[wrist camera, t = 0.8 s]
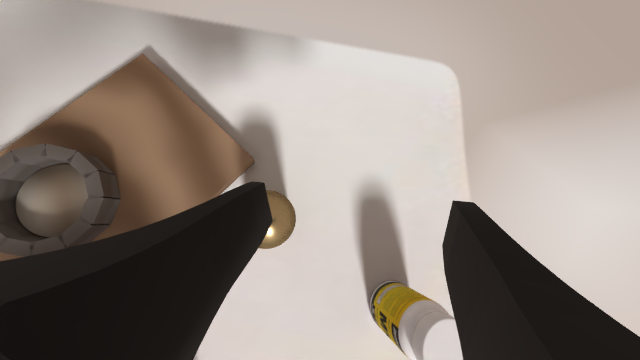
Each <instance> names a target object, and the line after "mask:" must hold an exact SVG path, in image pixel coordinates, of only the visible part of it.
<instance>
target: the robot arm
mask: <svg viewBox="0 0 640 360" xmlns="http://www.w3.org/2000/svg"><path fill="white" fill-rule="evenodd" d="M272 221H273V219H272V214H271V210H270V206H269V201H268V197H267V193H266V188H265V184H264V183H261V182H250V183H247V184H244V185H241V186H239V187H237V188H234V189H232V190H230V191H228V192H226V193H223V194H221V195H219V196H217V197H215V198H213V199H210V200H208V201H206V202H204V203H202V204H199V205H197V206H195V207H192V208H190V209H188V210H185V211H183V212H181V213H178V214H176V215H174V216H171V217H168V218H166V219H163V220H161V221H158V222H155V223H152V224H149V225H147V226H144V227H141V228H138V229H135V230H131V231H128V232H124V233H121V234H118V235H114V236H111V237H108V238H104V239H101V240H97V241H93V242H89V243H85V244H81V245H77V246H73V247H69V248H64V249H60V250H56V251H51V252H46V253H41V254H36V255H31V256H26V257H20V258H15V259H10V260H5V261H0V360H193V358H194V356H195V354H196V352H197V350H198V348H199V346H200V344H201V342H202V340H203V338H204V336H205V334H206V332H207V330H208V328H209V326H210V324H211V322H212V320H213V319H214V317H215V315H216V313H217V311H218V310H219V308H220V306H221V304H222V302H223V300H224V299H225V297H226V295H227V294H228V292H229V290H230V289H231V287H232V286H233V284H234V283H235V281H236V280H237V278H238V277H239V275H240V274H241V272H242V271H243V270H244V268H245V267H246V265H247V264H248V262H249V261H250V259H251V258H252V256H253V255H254V253H255V252H256V251H257V249H258V248H259V246H260V245H261V243H262V241H263V240H264V238H265V236H266V234H267V232H268V230H269V228H270V226H271V224H272ZM442 246H443V259H444V270H445V276H446V281H447V286H448V290H449V295H450V299H451V304H452V308H453V313H454V317H455V322H456V326H457V331H458V335H459V340H460V345H461V350H462V356H463V360H640V337H639V336H637V335H636V334H635V333H633V332H632V331H630V330H629V329H627V328H626V327H624V326H623V325H622V324H620V323H619V322H617V321H616V320H614V319H613V318H612V317H610V316H609V315H608V314H606V313H605V312H603V311H602V310H601V309H599V308H598V307H597V306H595V305H594V304H593V303H591V302H590V301H588V300H587V299H586V298H584V297H583V296H582V295H580V294H579V293H577V292H576V291H575V290H574V289H572V288H571V287H570V286H568V285H567V284H566V283H564V282H563V281H562V280H561V279H560V278H558V277H557V276H556V275H555V274H553V273H552V272H551V271H550V270H548V269H547V268H546V267H545V266H544V265H542V264H541V263H540V262H539V261H537V260H536V259H535V258H534V257H533V256H532V255H531V254H529V253H528V252H527V251H526V250H525V249H523V248H522V247H521V246H520V245H519V244H518V243H517V242H516V241H515V240H513V239H512V238H511V237H510V236H509V235H508V234H507V233H506V232H505V231H504V230H503V229H501V228H500V227H499V226H498V225H497V224H496V223H495V222H494V221H493V220H492V219H491V218H490V217H489V216H488V215H487V214H486V213H485V212H483V210H481V209H480V208H479V207H478V206H477V205H476V204H475V203H473V202H462V201H453V203H452V207H451V211H450V215H449V220H448V224H447V228H446V232H445V237H444V241H443V245H442Z"/></svg>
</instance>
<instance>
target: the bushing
mask: <svg viewBox="0 0 640 360" xmlns="http://www.w3.org/2000/svg"><path fill="white" fill-rule="evenodd" d="M266 193H267V197H268V201H269V206H270V210H271V214H272V219H273V221H272V224H271V226H270V228H269V230H268V232H267V234H266V236H265V238H264V240H263V241H262V243H261V245H260V246H259V248H262V249H269V248H274V247H277V246H279V245H281V244H282V243H284V242H285V241H286V240H287V239H288V238H289V237H290V235H291V234H292V232H293V230H294V227H295V222H296V216H295V210H294V208H293V206H292V204H291V202H290V201H289V200H288V199H287V198H286V197H285V196H284V195H282V194H280V193H278V192H275V191H266Z"/></svg>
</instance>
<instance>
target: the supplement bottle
mask: <svg viewBox="0 0 640 360" xmlns="http://www.w3.org/2000/svg"><path fill="white" fill-rule="evenodd" d="M370 312H371V315H372V318H373V320H374V321H375V323H376V324H377V325H378V326H379V327H380V328H381V329H382V330H383V331H384V333H385V334H386V335H387V336H388V337H389V338H390V339H391V340H392V341H393V342H394V343H395V344H396V345H397V346H398V348H399V349H400V350H401V351H402V352H403V353H404V354H405V355H406V356H407V357H408V358H409V359H410V360H463V356H462V350H461V345H460V340H459V335H458V331H457V326H456V322H455V318H453V317H452V316H450V315H449V313H448V312H447V311H446V310H445V309H444V308H443V307H442V306H441V305H440V304H438V303H437V302H435V301H433V300H431V299H429V298H427V297H425V296H424V295H422V294H420V293H418V292H416V291H414V290H413V289H411V288H409V287H407V286H405V285H404V284H402V283H400V282H397V281H386V282H384V283H382V284H380V285H379V286H378V287H377V288H376V289H375V290H374V292H373V294H372V296H371V299H370Z"/></svg>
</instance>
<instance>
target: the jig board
mask: <svg viewBox="0 0 640 360" xmlns="http://www.w3.org/2000/svg"><path fill="white" fill-rule="evenodd" d="M253 163H254V159H253V158H252V157H251V156H250V155H249V154H248V153H247V152H246V151H245V150H244V149H243V148H242V147H241V146H240V145H239V144H237V143H236V142H235V141H234V140H233V139H232V138H231V137H230V136H229V135H228V134H227V133H226V132H225V131H224V130H223V129H222V128H221V127H220V126H219V125H217V124H216V123H215V122H214V121H213V120H212V119H211V118H210V117H209V116H208V115H207V114H206V113H205V112H204V111H203V110H202V109H201V108H200V107H198V106H197V105H196V104H195V103H194V102H193V101H192V100H191V99H190V98H189V97H188V96H187V95H186V94H185V93H184V92H183V91H182V90H181V89H180V88H178V87H177V86H176V85H175V84H174V83H173V82H172V81H171V80H170V79H169V78H168V77H167V76H166V75H165V74H164V73H163V72H162V71H161V70H159V69H158V68H157V67H156V66H155V65H154V64H153V63H152V62H151V61H150V60H149V59H148V58H147V57H146V56H145V55H144V54H142V55H140V56H139V57H137V58H136V59H135V60H133V61H132V62H130V63H129V64H127V65H126V66H124V67H123V68H122V69H120V70H119V71H117V72H116V73H114V74H113V75H111V76H110V77H109V78H107V79H106V80H104V81H103V82H101V83H100V84H98V85H97V86H96V87H94V88H93V89H91V90H90V91H88V92H87V93H85V94H84V95H83V96H81V97H80V98H78V99H77V100H75V101H74V102H72V103H71V104H69V105H68V106H67V107H65V108H64V109H62V110H61V111H59V112H58V113H56V114H55V115H54V116H52V117H51V118H49V119H48V120H46V121H45V122H43V123H42V124H41V125H39V126H38V127H36V128H35V129H33V130H32V131H30V132H29V133H28V134H26V135H25V136H23V137H22V138H20V139H19V140H17V141H16V142H15V143H13V144H12V145H10V146H9V147H7V148H6V149H4V150H3V151H2V152H0V261H5V260H10V259H15V258H20V257H26V256H31V255H36V254H41V253H46V252H51V251H56V250H60V249H64V248H69V247H73V246H77V245H81V244H85V243H89V242H93V241H97V240H101V239H104V238H108V237H111V236H114V235H118V234H121V233H124V232H128V231H131V230H135V229H138V228H141V227H144V226H147V225H149V224H152V223H155V222H158V221H161V220H163V219H166V218H168V217H171V216H174V215H176V214H178V213H181V212H183V211H185V210H188V209H190V208H192V207H195V206H197V205H199V204H202V203H204V202H206V201H208V200H210V199H213V198H215V197H217V196H219V195H220V194H221V193H222V192H223V191H224V190H225V189H226V188H228V187H229V186H230V185H231V184H232V183H233V182H234V181H235V180H236V179H237V178H238V177H239V176H240V175H241V174H242V173H243V172H244V171H246V170H247V169H248V168H249V167H250V166H251V165H252V164H253Z"/></svg>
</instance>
